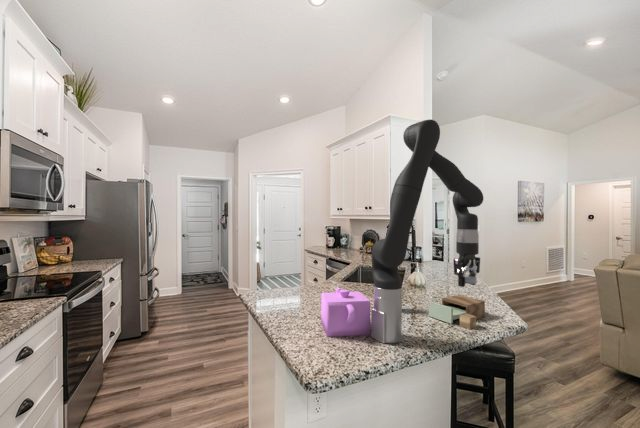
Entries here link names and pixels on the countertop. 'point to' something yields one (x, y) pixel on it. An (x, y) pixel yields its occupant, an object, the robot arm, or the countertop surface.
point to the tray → (444, 312)
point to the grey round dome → (470, 279)
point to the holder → (466, 305)
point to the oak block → (468, 321)
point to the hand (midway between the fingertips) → (467, 285)
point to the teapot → (345, 313)
